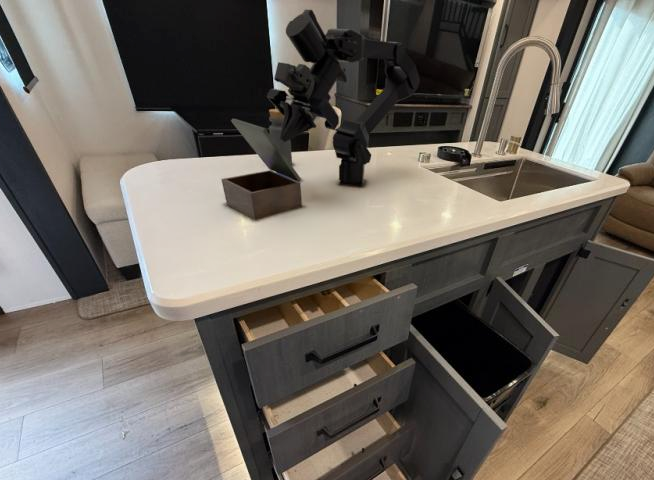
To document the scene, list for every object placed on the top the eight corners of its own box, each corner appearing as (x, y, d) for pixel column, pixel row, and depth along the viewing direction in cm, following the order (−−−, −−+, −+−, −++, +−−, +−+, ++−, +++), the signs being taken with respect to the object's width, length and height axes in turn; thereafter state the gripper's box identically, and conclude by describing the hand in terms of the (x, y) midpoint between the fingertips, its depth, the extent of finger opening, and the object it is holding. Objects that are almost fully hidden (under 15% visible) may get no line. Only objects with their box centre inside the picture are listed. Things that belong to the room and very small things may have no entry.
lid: (262, 131, 61) (265, 128, 61) (230, 120, 66) (233, 117, 66) (299, 181, 72) (301, 179, 72) (269, 169, 78) (271, 166, 78)
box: (255, 220, 68) (250, 193, 65) (226, 204, 73) (221, 178, 70) (302, 206, 76) (300, 182, 73) (273, 193, 81) (270, 169, 78)
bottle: (289, 168, 100) (285, 112, 91) (270, 166, 99) (264, 110, 90) (294, 163, 104) (290, 110, 95) (276, 161, 104) (270, 108, 95)
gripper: (268, 43, 69) (230, 104, 68) (328, 50, 60) (284, 119, 59) (300, 88, 79) (267, 141, 78) (355, 99, 70) (318, 159, 69)
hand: (282, 140), depth 71 cm, fingers closed
